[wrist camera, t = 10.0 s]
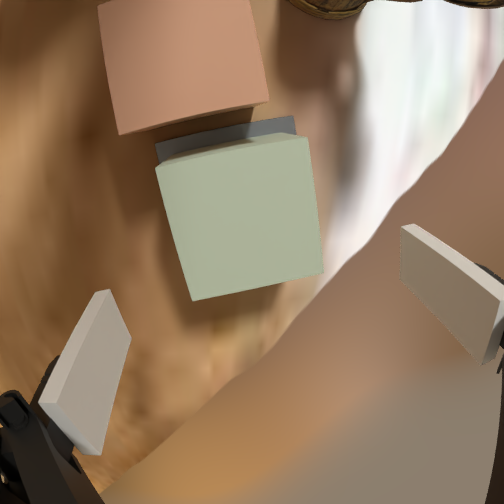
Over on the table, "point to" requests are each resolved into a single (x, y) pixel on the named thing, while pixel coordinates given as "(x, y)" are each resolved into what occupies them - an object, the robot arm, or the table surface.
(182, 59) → the terracotta cover
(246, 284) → the sage cover
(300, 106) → the table surface
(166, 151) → the slate tile
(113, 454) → the table surface
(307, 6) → the wooden mug
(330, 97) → the table surface
